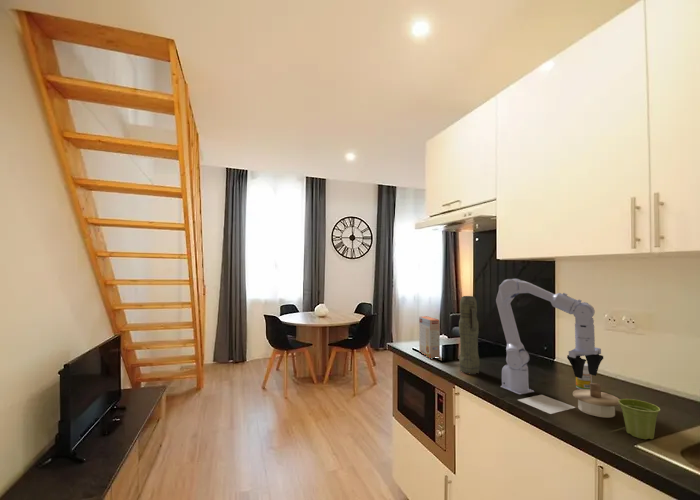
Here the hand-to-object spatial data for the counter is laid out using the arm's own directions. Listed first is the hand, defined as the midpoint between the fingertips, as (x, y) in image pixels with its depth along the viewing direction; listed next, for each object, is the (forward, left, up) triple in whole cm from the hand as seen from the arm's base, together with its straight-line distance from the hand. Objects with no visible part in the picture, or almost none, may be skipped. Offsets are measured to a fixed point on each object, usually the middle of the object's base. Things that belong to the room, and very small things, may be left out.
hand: (585, 376), depth 121 cm
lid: (+5, -2, -6) cm, 8 cm away
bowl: (+5, -2, -10) cm, 11 cm away
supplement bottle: (-11, +17, -11) cm, 23 cm away
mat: (-6, -12, -10) cm, 17 cm away
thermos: (-47, -9, -11) cm, 49 cm away
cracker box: (-78, -10, -11) cm, 79 cm away
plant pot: (+20, -7, -11) cm, 23 cm away
